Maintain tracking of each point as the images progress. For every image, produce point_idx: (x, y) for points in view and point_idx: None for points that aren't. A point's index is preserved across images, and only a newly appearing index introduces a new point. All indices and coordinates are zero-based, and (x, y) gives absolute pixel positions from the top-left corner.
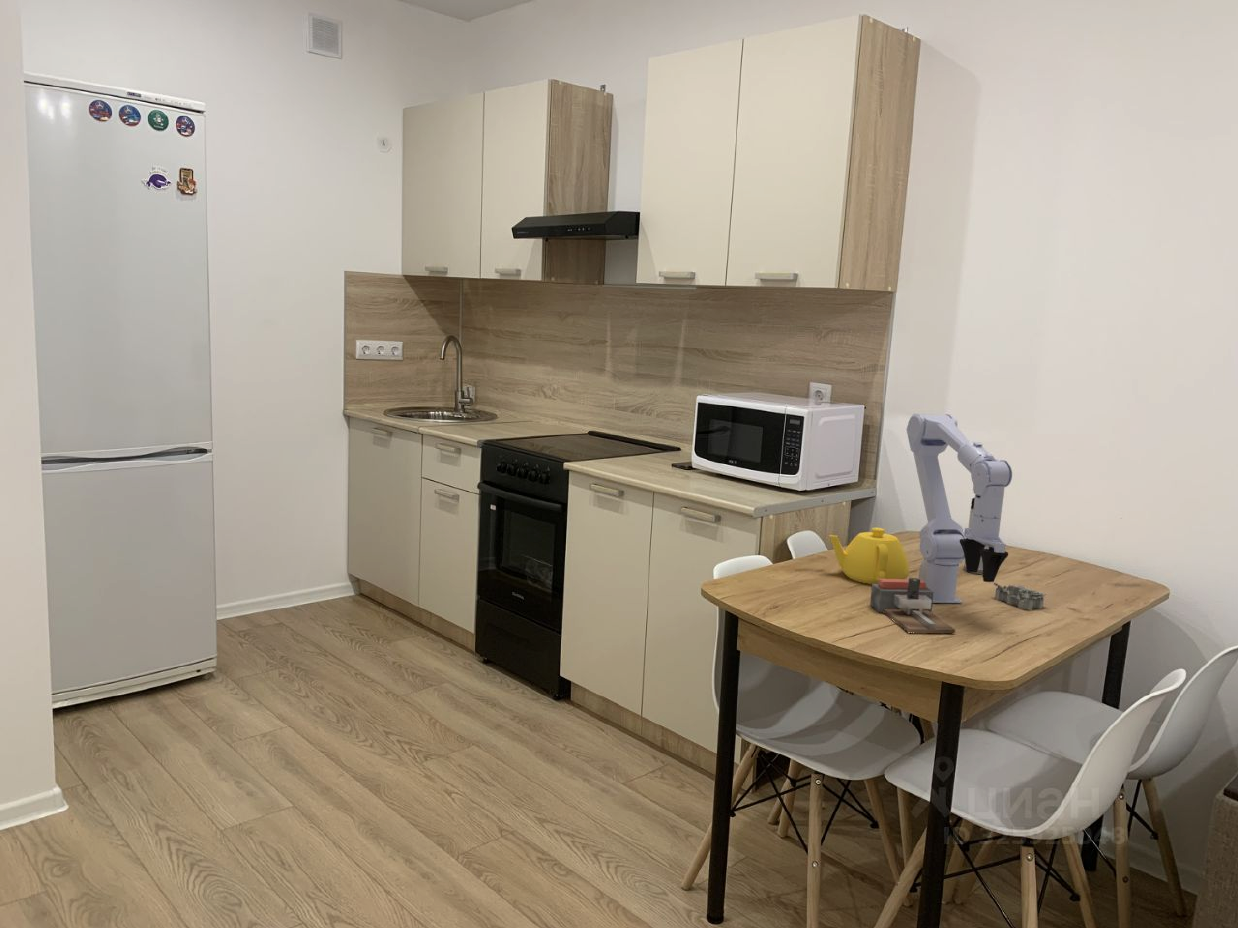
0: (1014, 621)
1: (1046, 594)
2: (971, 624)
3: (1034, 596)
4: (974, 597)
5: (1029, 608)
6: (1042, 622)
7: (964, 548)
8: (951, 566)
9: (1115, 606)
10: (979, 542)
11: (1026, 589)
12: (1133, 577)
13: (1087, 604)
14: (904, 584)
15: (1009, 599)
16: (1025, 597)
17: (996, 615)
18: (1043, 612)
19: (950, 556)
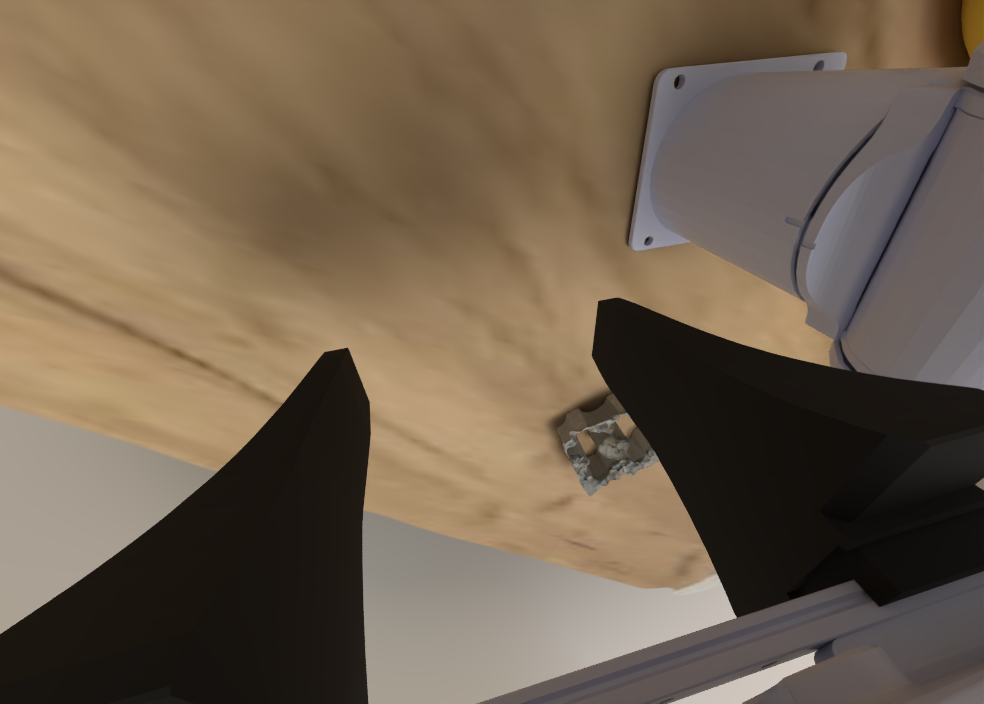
0: (432, 371)
1: (591, 492)
2: (330, 186)
3: (611, 463)
4: (686, 314)
5: (558, 432)
6: (441, 438)
7: (791, 386)
8: (794, 239)
9: (579, 552)
10: (683, 637)
11: (657, 458)
12: (715, 571)
13: (593, 523)
14: None
15: (616, 404)
16: (601, 444)
17: (492, 332)
18: (535, 453)
19: (893, 260)
